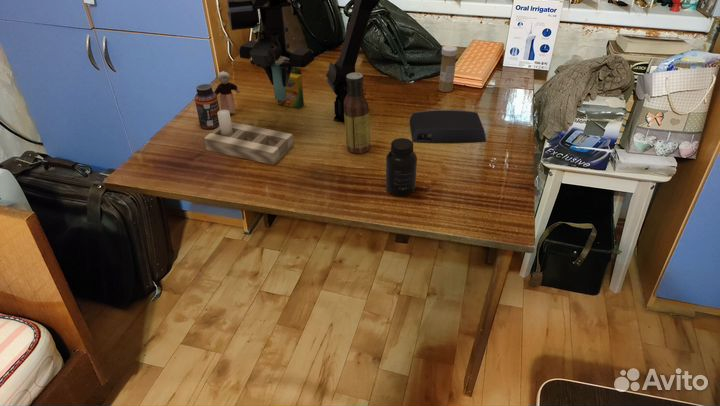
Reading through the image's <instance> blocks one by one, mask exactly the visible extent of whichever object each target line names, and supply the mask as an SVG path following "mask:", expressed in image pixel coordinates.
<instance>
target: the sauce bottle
mask: <svg viewBox="0 0 720 406" xmlns="http://www.w3.org/2000/svg"><path fill="white" fill-rule="evenodd" d="M346 81H347V87H348V90H347V92H348V94H347V96H346V97H345V100H344V118H345V122H344V131H345V144H346V148H347V150H348V152H351V153H352V154H353V153H354V154H363V153H366V152H368V151H369V150H370V148H371V126H370V125H371V123H370V120H371V119H370V109H369V108H370V107H369V102H368V101H367V99H366V97H365V93H364V85H363V84H364V83H363V82H364V75H363V74H362V73H361V72H356V71H355V73H350V74H348V75H347V76H346Z"/></svg>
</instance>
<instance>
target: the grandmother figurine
mask: <svg viewBox="0 0 720 406" xmlns="http://www.w3.org/2000/svg"><path fill="white" fill-rule="evenodd" d="M230 79H231V76H230V74H229V73H228V72H226V71H224V70H222V71H220V72H218V74H217V80H218V81H219V82H220V83H219V84H218V85H217V87H216V88H215V90H214V92H215V93H216V95H217V96H218V95H219V97H220V101H219V102H220V110H228V111H229V112H230V115H235V114H237V111H236V110H235V100H234V95H233V94H234V93H233V92H232V91H235V92H236V94H240V93H241V91H240V90H239V88H238V85H236V84H234V83H233V82H229V81H230Z"/></svg>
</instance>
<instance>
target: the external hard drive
mask: <svg viewBox="0 0 720 406" xmlns="http://www.w3.org/2000/svg"><path fill="white" fill-rule="evenodd" d="M408 124H409V129H410V135H411V141H412V142H413V143H416V144H417V143H418V144H419V143H421V144H468V143H469V144H472V143H473V144H474V143H486V141H487V139H486V133H485V129H484V126H483V123H482V121H481V119H480V116H479V114H478V112H477V111H472V110H471V111H470V110H455V109H453V110H452V109H438V110H437V109H434V110H424V111H423V110H422V111H415V112H413V113H412V114H411V116H410V118H409V123H408Z"/></svg>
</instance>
